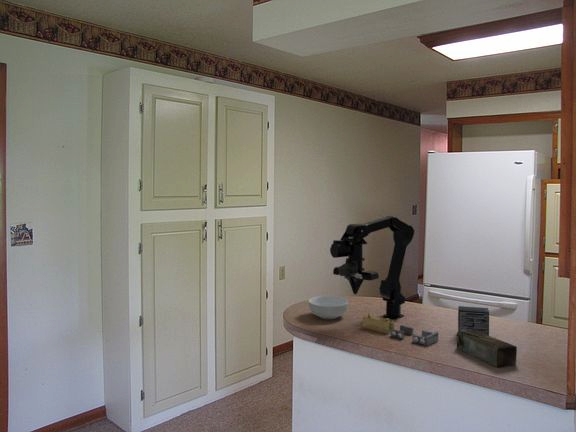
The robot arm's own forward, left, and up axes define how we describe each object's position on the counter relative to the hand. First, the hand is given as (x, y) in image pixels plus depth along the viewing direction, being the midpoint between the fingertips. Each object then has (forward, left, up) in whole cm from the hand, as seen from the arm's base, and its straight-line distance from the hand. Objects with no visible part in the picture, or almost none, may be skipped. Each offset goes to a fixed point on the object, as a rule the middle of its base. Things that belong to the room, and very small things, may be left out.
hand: (355, 294), depth 188 cm
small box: (-17, +41, -12) cm, 46 cm away
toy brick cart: (0, +26, -12) cm, 29 cm away
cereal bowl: (0, -14, -12) cm, 19 cm away
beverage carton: (-1, +52, -12) cm, 53 cm away
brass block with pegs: (0, +11, -12) cm, 17 cm away
